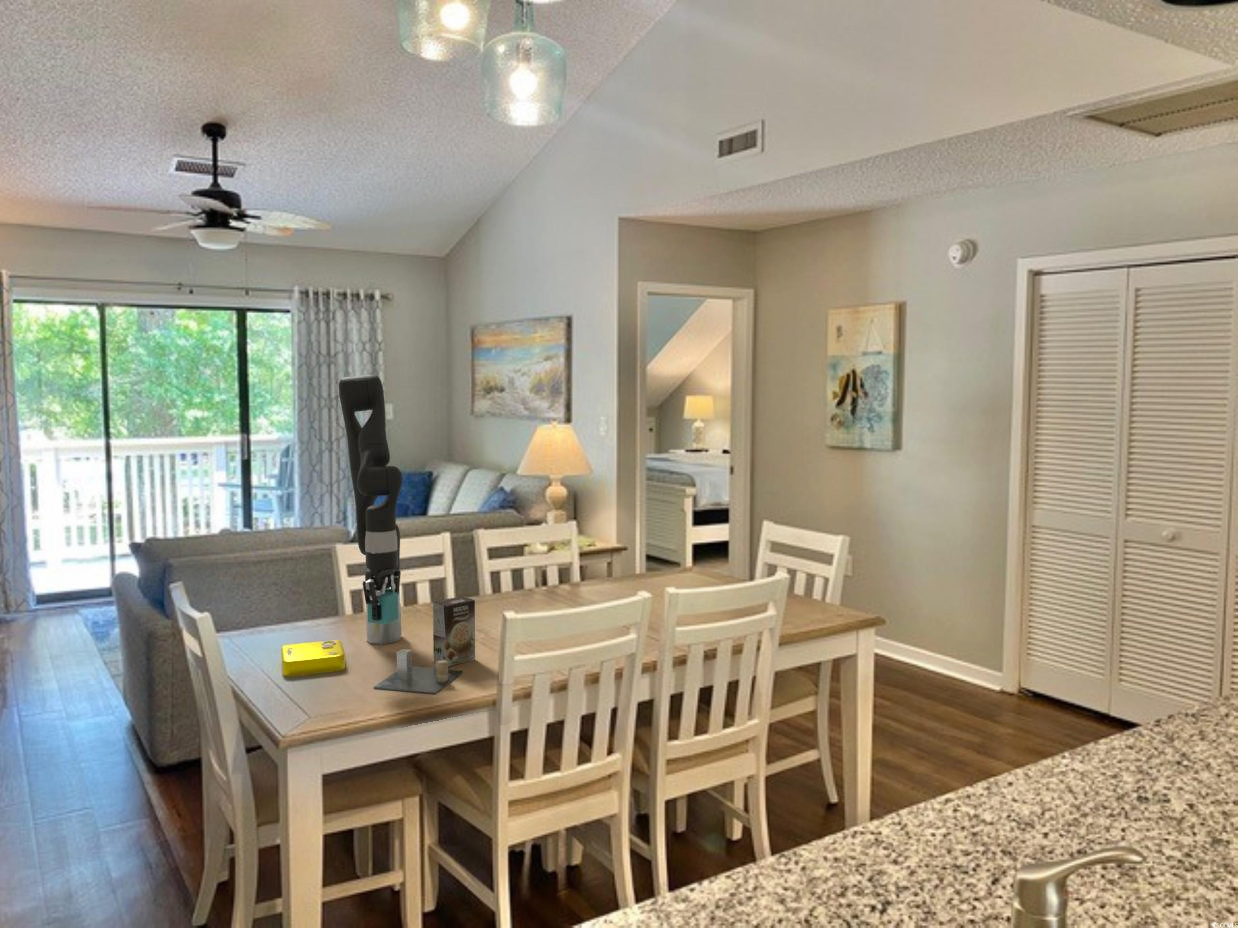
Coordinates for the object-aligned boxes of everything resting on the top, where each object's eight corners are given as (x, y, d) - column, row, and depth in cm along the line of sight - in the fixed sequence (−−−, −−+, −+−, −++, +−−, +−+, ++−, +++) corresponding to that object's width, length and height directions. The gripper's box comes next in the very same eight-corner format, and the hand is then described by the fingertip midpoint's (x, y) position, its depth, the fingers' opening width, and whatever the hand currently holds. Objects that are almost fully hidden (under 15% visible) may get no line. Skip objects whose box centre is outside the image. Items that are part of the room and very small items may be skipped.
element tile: (281, 660, 239) (280, 643, 239) (341, 654, 245) (340, 637, 244) (282, 678, 225) (282, 660, 225) (345, 671, 231) (345, 653, 230)
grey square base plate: (405, 667, 233) (404, 640, 232) (463, 672, 229) (462, 645, 228) (373, 688, 218) (372, 659, 217) (435, 694, 214) (434, 665, 213)
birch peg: (439, 679, 223) (439, 659, 223) (449, 680, 223) (449, 660, 222) (434, 683, 221) (433, 663, 220) (445, 684, 220) (444, 664, 220)
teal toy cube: (379, 616, 226) (378, 590, 225) (398, 618, 224) (397, 592, 224) (367, 622, 221) (367, 595, 220) (386, 623, 219) (386, 597, 219)
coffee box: (446, 667, 233) (445, 606, 231) (432, 661, 237) (431, 601, 236) (476, 659, 239) (475, 599, 237) (462, 654, 244) (461, 595, 242)
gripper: (383, 542, 229) (384, 608, 230) (351, 553, 215) (353, 623, 217) (410, 543, 227) (411, 610, 228) (379, 554, 213) (381, 625, 215)
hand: (383, 616), depth 223 cm, fingers closed on teal toy cube, 5 cm apart
